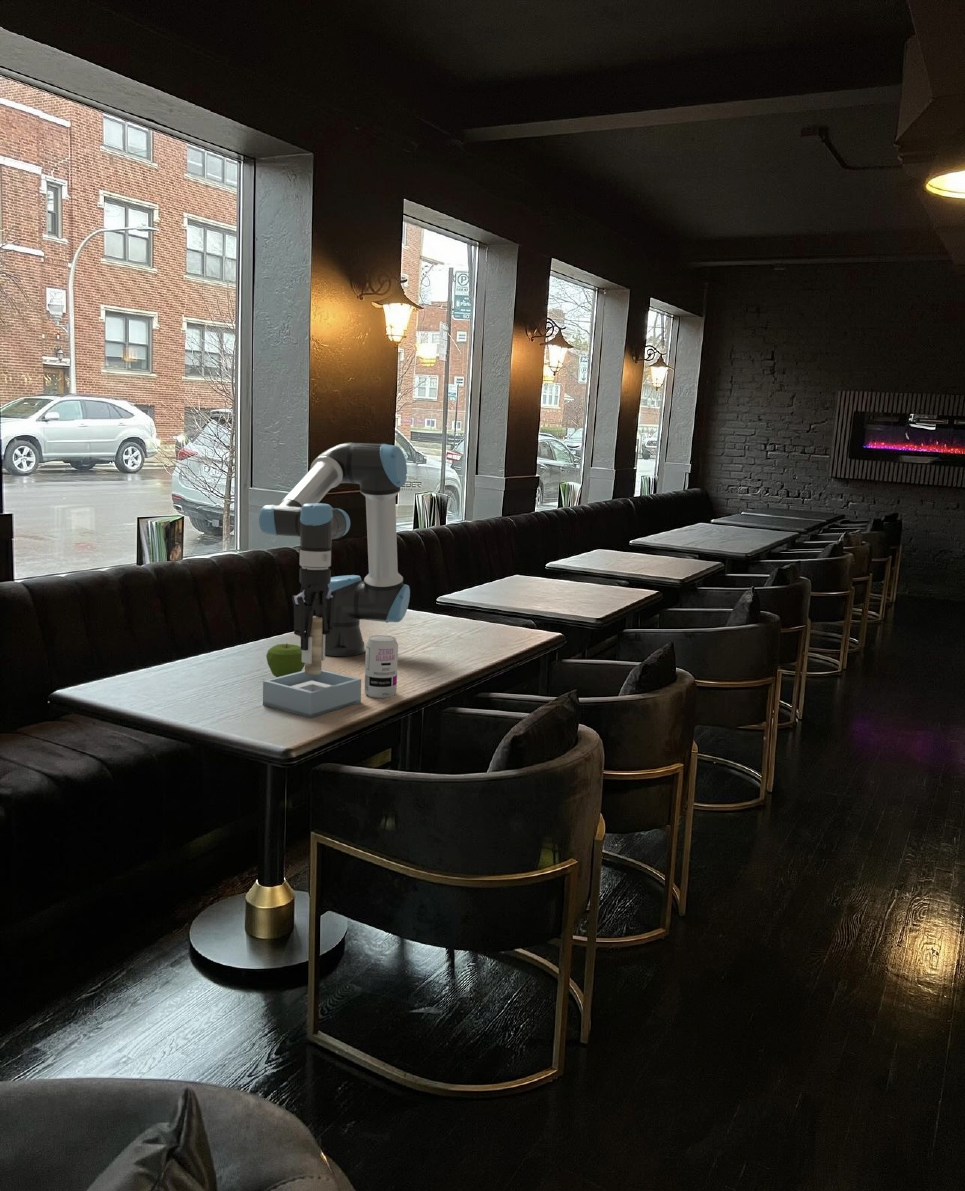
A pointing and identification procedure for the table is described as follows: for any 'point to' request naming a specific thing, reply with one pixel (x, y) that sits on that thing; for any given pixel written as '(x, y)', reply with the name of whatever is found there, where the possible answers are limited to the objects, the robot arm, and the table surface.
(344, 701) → the crate
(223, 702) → the table surface
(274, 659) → the apple
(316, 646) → the peg
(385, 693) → the supplement can
